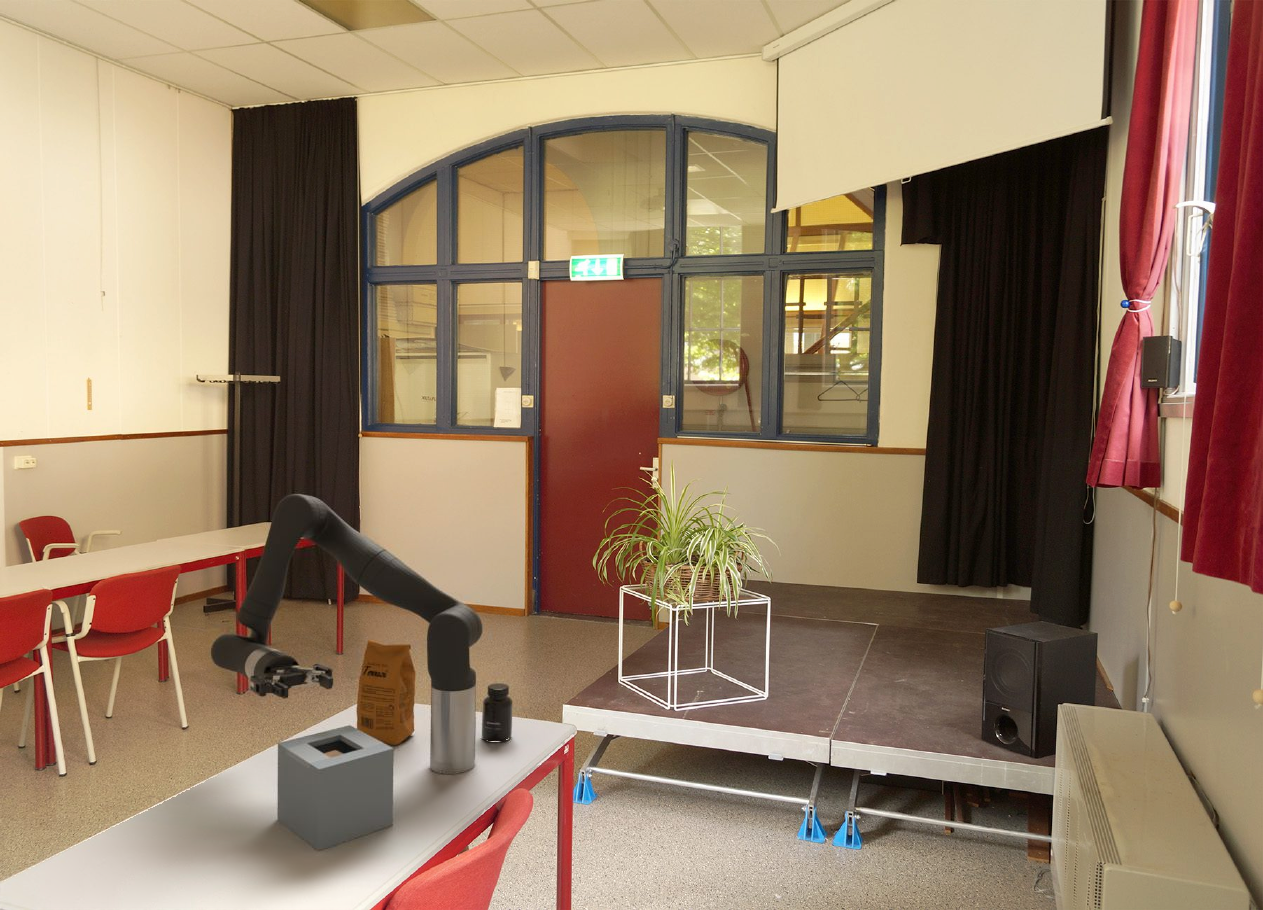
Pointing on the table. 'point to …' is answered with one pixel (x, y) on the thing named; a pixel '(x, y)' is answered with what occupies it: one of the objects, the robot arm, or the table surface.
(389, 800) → the grey box with opening
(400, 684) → the coffee package
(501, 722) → the supplement bottle
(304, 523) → the robot arm
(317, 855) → the table surface
